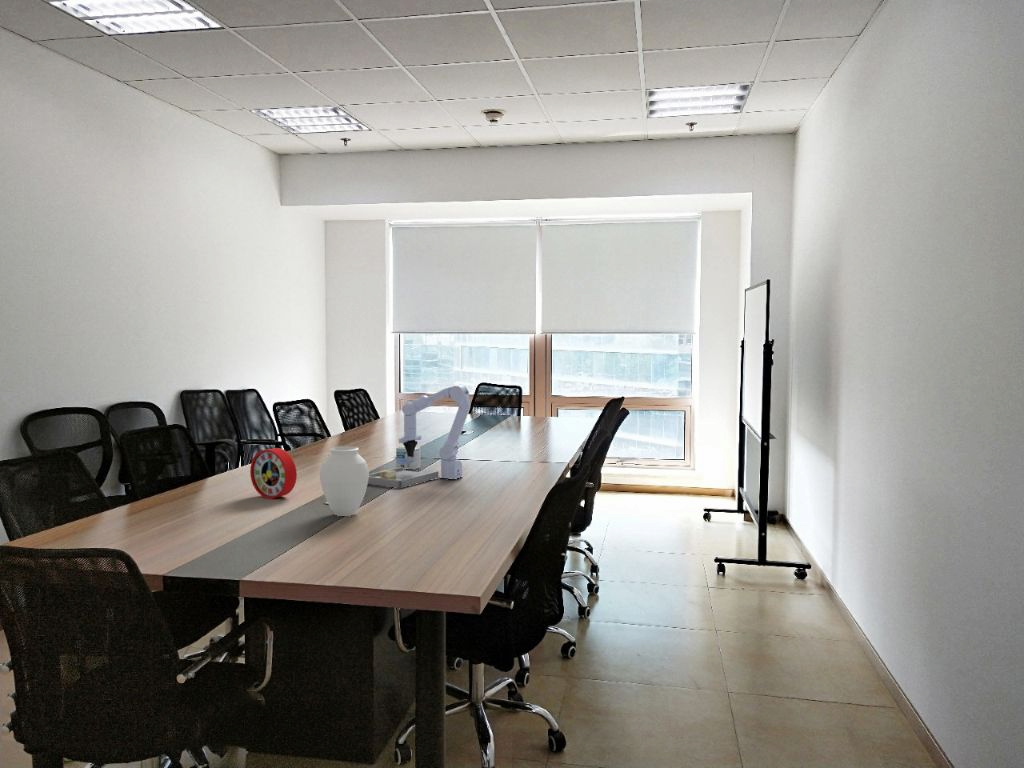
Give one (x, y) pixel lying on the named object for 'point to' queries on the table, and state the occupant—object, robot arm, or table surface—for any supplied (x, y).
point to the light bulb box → (407, 458)
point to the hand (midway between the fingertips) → (410, 456)
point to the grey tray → (401, 478)
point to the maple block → (388, 474)
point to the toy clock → (273, 473)
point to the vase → (344, 480)
